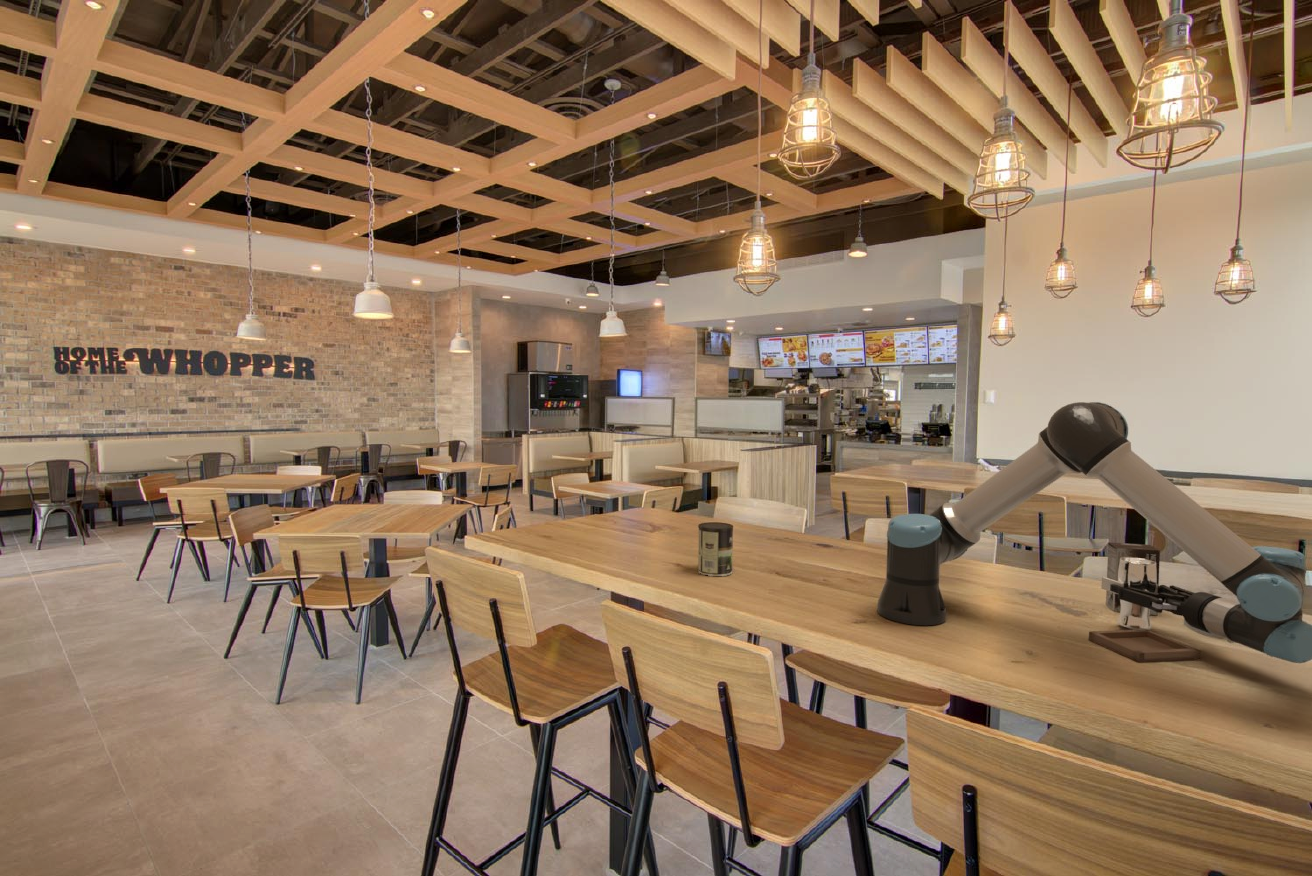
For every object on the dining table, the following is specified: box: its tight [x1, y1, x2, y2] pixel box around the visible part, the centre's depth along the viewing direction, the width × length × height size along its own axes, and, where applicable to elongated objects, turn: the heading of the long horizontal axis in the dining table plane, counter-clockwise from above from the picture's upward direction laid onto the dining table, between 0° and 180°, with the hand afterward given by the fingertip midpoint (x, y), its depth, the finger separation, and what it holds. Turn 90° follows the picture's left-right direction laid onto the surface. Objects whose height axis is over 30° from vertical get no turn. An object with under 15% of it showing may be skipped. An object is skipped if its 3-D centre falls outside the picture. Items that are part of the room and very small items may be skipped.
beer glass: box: [1117, 557, 1157, 631], centre depth 143 cm, size 7×7×15 cm
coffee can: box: [697, 521, 734, 577], centre depth 187 cm, size 10×10×14 cm
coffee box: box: [1105, 541, 1161, 616], centre depth 156 cm, size 9×6×16 cm
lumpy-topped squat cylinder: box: [1183, 587, 1239, 640], centre depth 143 cm, size 10×13×9 cm
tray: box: [1088, 629, 1202, 663], centre depth 131 cm, size 14×12×2 cm
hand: (1117, 582), depth 147 cm, fingers closed on beer glass, 7 cm apart
